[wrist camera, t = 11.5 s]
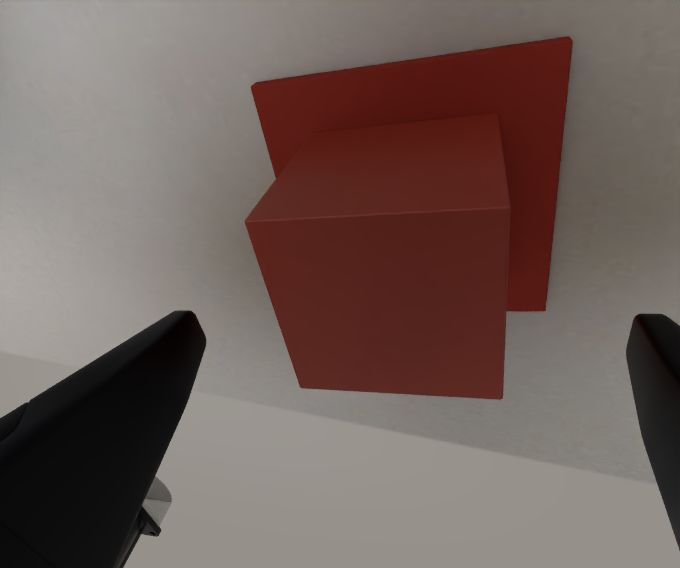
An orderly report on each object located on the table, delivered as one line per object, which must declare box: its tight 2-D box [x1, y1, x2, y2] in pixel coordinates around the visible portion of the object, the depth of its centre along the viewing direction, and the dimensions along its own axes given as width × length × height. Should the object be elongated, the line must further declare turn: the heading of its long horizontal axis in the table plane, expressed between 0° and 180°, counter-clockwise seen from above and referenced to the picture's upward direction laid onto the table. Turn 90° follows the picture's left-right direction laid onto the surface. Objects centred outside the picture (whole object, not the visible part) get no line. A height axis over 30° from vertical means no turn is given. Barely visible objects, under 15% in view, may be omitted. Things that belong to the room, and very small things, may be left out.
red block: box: [245, 113, 510, 400], centre depth 12 cm, size 5×5×5 cm
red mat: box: [251, 37, 573, 311], centre depth 14 cm, size 8×8×1 cm
